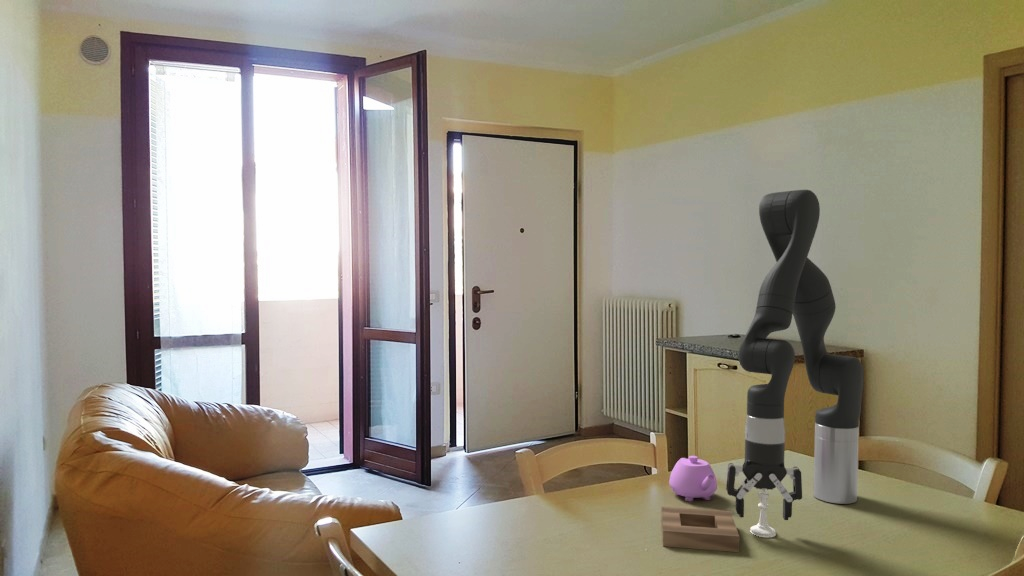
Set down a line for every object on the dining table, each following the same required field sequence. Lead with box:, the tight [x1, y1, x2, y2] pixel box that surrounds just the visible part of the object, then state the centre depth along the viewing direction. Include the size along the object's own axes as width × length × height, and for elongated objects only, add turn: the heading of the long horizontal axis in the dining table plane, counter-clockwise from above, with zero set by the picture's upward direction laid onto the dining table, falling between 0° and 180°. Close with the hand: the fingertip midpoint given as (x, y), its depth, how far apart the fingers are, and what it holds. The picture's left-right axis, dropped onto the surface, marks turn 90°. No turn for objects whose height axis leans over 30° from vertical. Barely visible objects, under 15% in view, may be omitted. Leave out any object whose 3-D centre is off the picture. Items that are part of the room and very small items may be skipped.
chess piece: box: [749, 488, 777, 539], centre depth 145 cm, size 5×5×10 cm
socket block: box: [660, 506, 740, 553], centre depth 143 cm, size 14×14×3 cm
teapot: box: [668, 455, 718, 502], centre depth 167 cm, size 10×15×9 cm
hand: (763, 517), depth 145 cm, fingers open, 8 cm apart
